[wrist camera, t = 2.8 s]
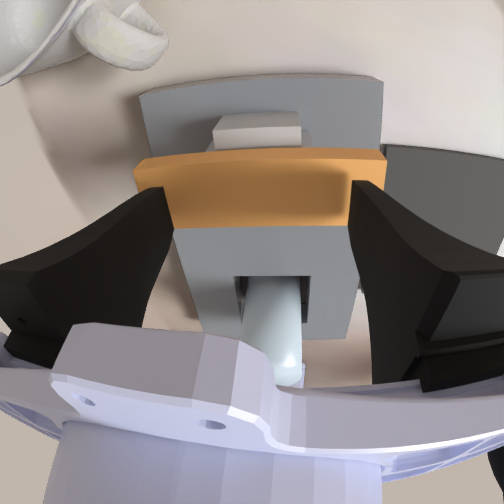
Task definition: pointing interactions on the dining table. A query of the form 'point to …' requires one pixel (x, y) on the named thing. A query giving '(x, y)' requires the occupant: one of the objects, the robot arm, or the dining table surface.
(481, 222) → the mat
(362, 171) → the plunger
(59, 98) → the dining table surface
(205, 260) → the housing
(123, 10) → the teacup
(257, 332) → the cylinder
